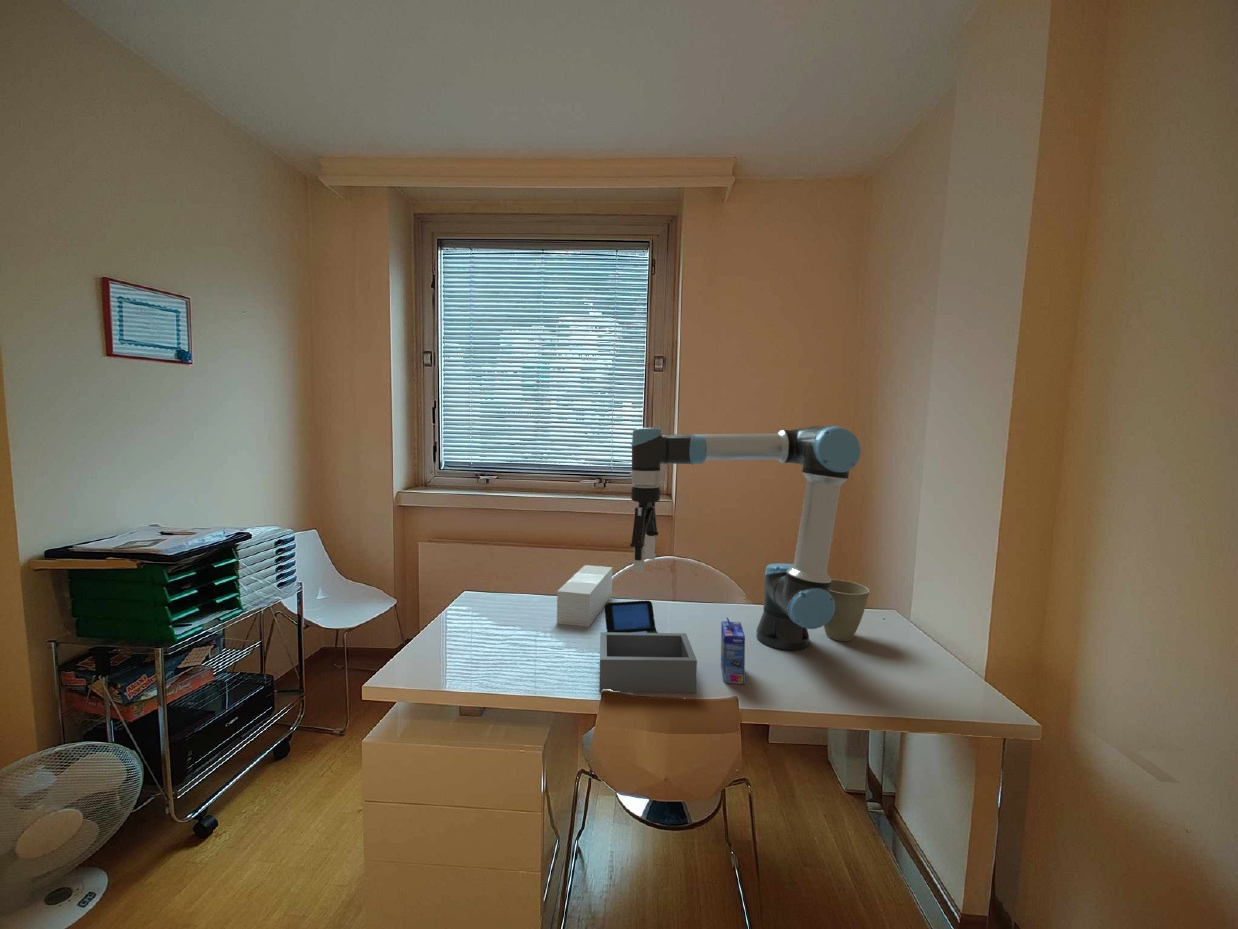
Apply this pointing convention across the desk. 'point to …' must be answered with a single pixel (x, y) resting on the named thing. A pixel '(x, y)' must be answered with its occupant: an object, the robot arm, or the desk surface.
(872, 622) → the desk surface
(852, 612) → the plant pot
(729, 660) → the ink cartridge box
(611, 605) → the handheld game console
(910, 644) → the desk surface
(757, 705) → the desk surface
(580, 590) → the stack of papers
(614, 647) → the collection bin
